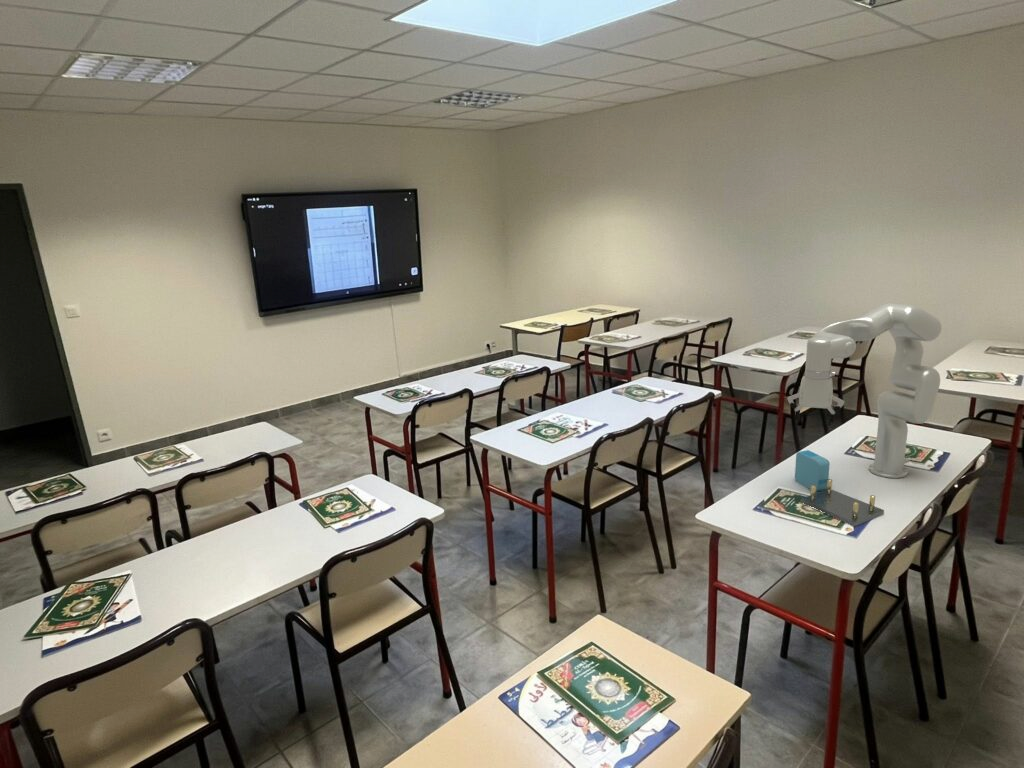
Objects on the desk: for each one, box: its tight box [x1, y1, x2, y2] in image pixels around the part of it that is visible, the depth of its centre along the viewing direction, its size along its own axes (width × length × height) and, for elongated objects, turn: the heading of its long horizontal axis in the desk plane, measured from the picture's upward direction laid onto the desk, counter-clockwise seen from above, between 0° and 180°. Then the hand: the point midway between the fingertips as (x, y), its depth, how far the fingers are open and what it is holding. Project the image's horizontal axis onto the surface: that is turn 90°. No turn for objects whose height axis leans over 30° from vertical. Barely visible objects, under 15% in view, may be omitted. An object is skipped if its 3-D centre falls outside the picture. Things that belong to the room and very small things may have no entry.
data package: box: [794, 449, 830, 493], centre depth 223 cm, size 12×4×12 cm, turn 14°
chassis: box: [799, 478, 885, 527], centre depth 206 cm, size 15×20×6 cm
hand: (813, 422), depth 209 cm, fingers open, 9 cm apart
